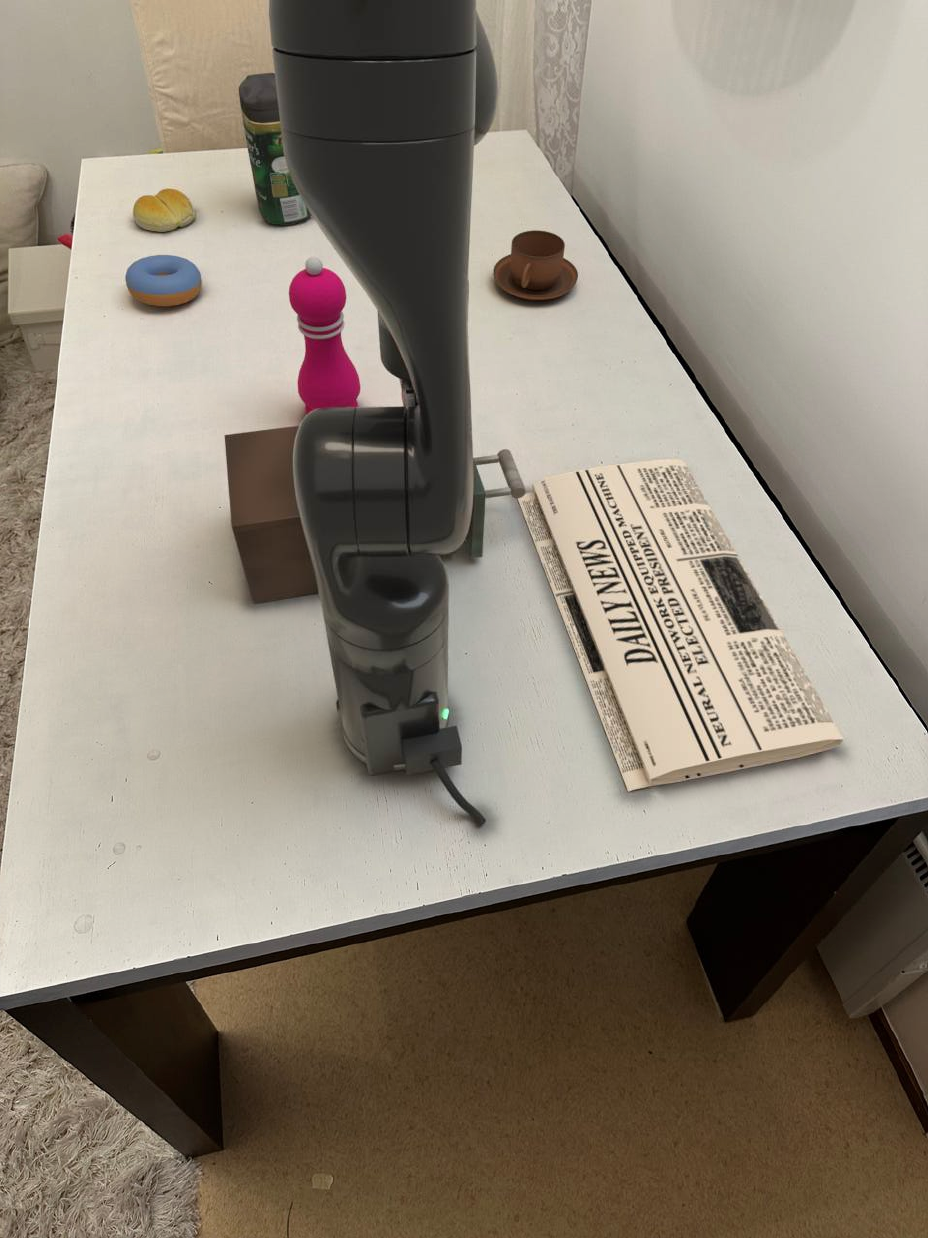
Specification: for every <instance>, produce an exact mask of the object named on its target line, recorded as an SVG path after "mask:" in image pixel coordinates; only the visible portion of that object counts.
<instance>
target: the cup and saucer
mask: <svg viewBox="0 0 928 1238" xmlns="http://www.w3.org/2000/svg"><path fill="white" fill-rule="evenodd" d="M510 248H511V249H510V254H507V255H505V256H503V257H502V258H500V259H499V260H498V261H497V262H496V263H495V264H494V267H493V270H492V271H493V273H492V274H493V278H494V281H495V283H496V284H497V285H498V286H499V287H500V288H501V289H502V290H503V291H505V292H506V293H508V294H510V295H511V296H514V297H517V298H521V299H524V300H529V301H530V300H531V301H544V300H551V299H552V300H553V299H556V298H558V297H561V296H563V295H565V294H567V293H569V292H570V291H571V290H572V289H573V288H574V287H575V286H576V284H577V282H578V280H579V279H578V278H579V272H578V270H577V268H576V266H575V265H574V264H573V263H572V262H571V261H570V260H568V259H566V258H565V257H564V255H565V248H566V244H565V241H564V239H563V238H562V237H560V236H559V235H558V234H556V233H553V232H550V231H547V230H535V229H533V230H526V231H523V232H520V233H518V234H516V235H515V236H514V237H513V238H512V239H511V247H510Z"/></svg>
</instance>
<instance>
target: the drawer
mask: <svg viewBox="0 0 928 1238" xmlns="http://www.w3.org/2000/svg"><path fill="white" fill-rule="evenodd" d="M497 463H499V466H500V468H501V471H502V474H503V476H504V479H505V482H506V484H507V487H501V488H500V487H499V488H493V489H485V487H484V484H483V481H482V478H481V475H480V472H479V470H478V469H479V468H478V466H483V465H489V464H490V465H491V464H497ZM526 493H527V490H526V486H525V484H524V482H523V480H522V477H521V475H520V472H519V469H518V467H517V464H516V461H515V459H514V457H513V454H512V452H511V450H509V449H507V448H504V449H503V448H502V449H501V450H499V451H498V453H497V454H492V455H484V456H478V457H473V507H472V515H471V521H470V526H469V530H468V533H467V536H466V538H465V540H464V541H465V543H466V546H467V549H468V552H469V557H470V558H471V559H478V558H482V557H483V556H484V555H483V553H484V536H485V532H484V531H485V516H486V499H492V498H498V497H505V496H511V497H512V498H514V499H518V498H521V497H523V496H524V495H525V494H526ZM456 553H457V549H456V550H455V551H453V552H451V553H447V554H442V555H441V556H444V555H451V554H456Z"/></svg>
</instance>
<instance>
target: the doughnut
mask: <svg viewBox="0 0 928 1238" xmlns="http://www.w3.org/2000/svg"><path fill="white" fill-rule="evenodd" d="M124 280H125V285H126V288H127V290H128V292H129V294H130V296H132V297H133V298H134V299H135V300H137V301H138V302H140V303H142V304H146V305H149V306H156V307H173V306H179V305H182V304H185V303H188V302H190V301H192V300H193V299H195V298H196V297H197V296H198V295H199V294H200V292H201V290H202V284H203V283H202V281H203V280H202V274H201V271H200V270H199V268H198V267H197V265H196V264H195V263H193V261H190V260H189V259H187V258H184V257H181V256H178V255H172V254H154V255H148V256H145V257H142V258H139V259H137V260H134V262H132V263H131V264H130V265H129V267H127V269H126V272H125V279H124Z"/></svg>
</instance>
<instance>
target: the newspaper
mask: <svg viewBox="0 0 928 1238" xmlns="http://www.w3.org/2000/svg"><path fill="white" fill-rule="evenodd" d="M532 490H533V492H532V491H531V492H526V493H525V495H524V496H523V497H521V498H517V501H518V502H519V506H520V509H521V511H522V514H523V516H524V519H525V522H526V525H527V527H528V530H529V532H530V535H531V537H532V541H533V543H534V546H535V548H536V551H537V554H538V557H539V559H540V561H541V564H542V567H543V570H544V572H545V575H546V578H547V580H548V583H549V585H550V589H551V591H552V594H553V596H554V599H555V601H556V605H557V607H558V610H559V612H560V615H561V617H562V620H563V623H564V625H565V629H566V630H567V633H568V636H569V639H570V641H571V644H572V647H573V649H574V651H575V655H576V657H577V660H578V662H579V665H580V668H581V670H582V673H583V676H584V678H585V682H586V684H587V686H588V689H589V691H590V694H591V697H592V700H593V702H594V705H595V707H596V711H597V713H598V715H599V718H600V720H601V723H602V726H603V729H604V731H605V733H606V736H607V740H608V741H609V744H610V747H611V750H612V752H613V756H614V758H615V760H616V763H617V766H618V768H619V772H620V774H621V776H622V779H623V781H624V784H625V787H626V790H627V792H631V791H635V790H639V789H643V788H648V787H653V786H661V785H668V784H674V783H680V782H685V781H690V780H694V779H701V778H704V777H709V776H715V775H719V774H725V773H729V772H734V771H739V770H745V769H750V768H754V767H760V766H763V765H769V764H774V763H778V762H779V763H780V762H783V761H784V762H785V761H789V760H794V759H799V758H803V757H806V756H810V755H814V754H818V753H821V752H825V751H829V750H832V749H834V748H836V747H839V746H840V745H842V743H843V741H844V737H843V736H842V734H841V731H839V729H838V727H837V726H836V724H835V722H834V720H833V718H832V716H831V715H830V713H829V711H828V709H827V708H826V706H825V704H824V702H823V701H822V698H820V695H819V693H817V690H816V689H815V687H814V685H813V684H812V682H811V680H810V679H809V677H808V675H807V673H806V672H805V670H804V668H803V666H802V664H801V663H800V660H799V659H798V658H797V655H796V654H795V652H794V650H793V649H792V647H791V645H790V643H789V642H788V640H787V638H786V636H785V635H784V633H783V632H782V630H781V628H780V626H779V624H778V622H777V621H776V619H775V617H774V615H773V614H772V613H771V611H770V609H769V607H768V605H767V604H766V602H765V600H764V598H763V597H762V595H761V594H760V591H759V590H758V588H757V586H756V584H755V583H754V581H753V579H752V577H751V576H750V574H749V572H748V570H747V569H746V567H745V565H744V564H743V562H742V560H741V559H740V556H739V555H738V553H737V551H736V550H735V548H734V546H733V544H732V543H731V540H730V539H729V538H728V536H727V534H726V532H725V531H724V529H723V527H722V525H721V524H720V522H719V520H718V518H717V517H716V515H715V513H714V512H713V510H712V508H711V506H710V505H709V503H708V501H707V500H706V498H705V496H704V494H703V493H702V491H701V489H700V487H699V486H698V483H697V482H696V481H695V478H694V477H693V475H692V473H691V472H690V470H689V468H688V466H687V465H686V463H685V461H684V460H681V459H676V458H675V459H674V458H666V459H665V458H664V459H655V460H645V461H636V462H625V463H617V464H607V465H601V466H596V467H589V468H584V469H579V470H574V471H570V472H569V471H567V472H563V473H558V474H550V475H548V476H546V477H544V478H542V479H539V480H537V481H536V482H533V483H532Z"/></svg>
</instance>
